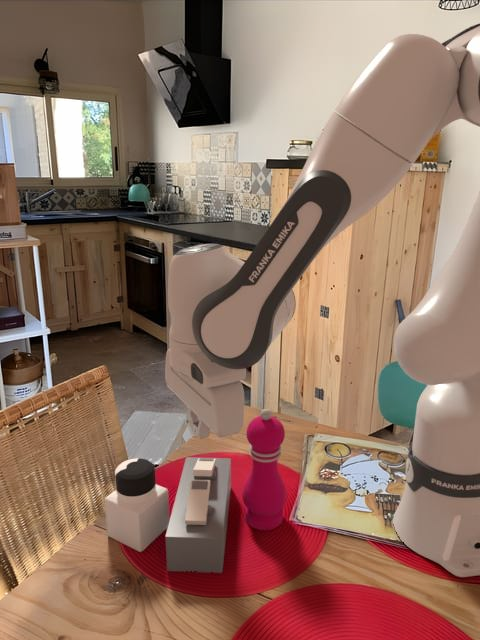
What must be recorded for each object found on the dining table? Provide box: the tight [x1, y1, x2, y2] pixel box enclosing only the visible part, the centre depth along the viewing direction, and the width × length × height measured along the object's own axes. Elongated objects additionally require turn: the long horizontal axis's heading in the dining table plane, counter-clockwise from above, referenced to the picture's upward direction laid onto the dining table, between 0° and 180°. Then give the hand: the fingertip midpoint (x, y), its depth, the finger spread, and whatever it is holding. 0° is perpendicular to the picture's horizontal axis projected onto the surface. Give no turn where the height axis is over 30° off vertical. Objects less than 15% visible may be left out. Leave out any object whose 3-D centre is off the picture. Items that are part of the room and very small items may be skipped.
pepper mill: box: [242, 408, 287, 531], centre depth 80 cm, size 7×7×20 cm
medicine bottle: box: [104, 457, 170, 553], centre depth 78 cm, size 7×7×12 cm
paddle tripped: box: [193, 457, 216, 476], centre depth 83 cm, size 3×7×1 cm, turn 178°
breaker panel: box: [164, 456, 232, 574], centre depth 80 cm, size 8×20×7 cm, turn 178°
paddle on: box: [185, 480, 210, 525], centre depth 75 cm, size 3×7×1 cm, turn 177°
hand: (200, 434), depth 79 cm, fingers closed
